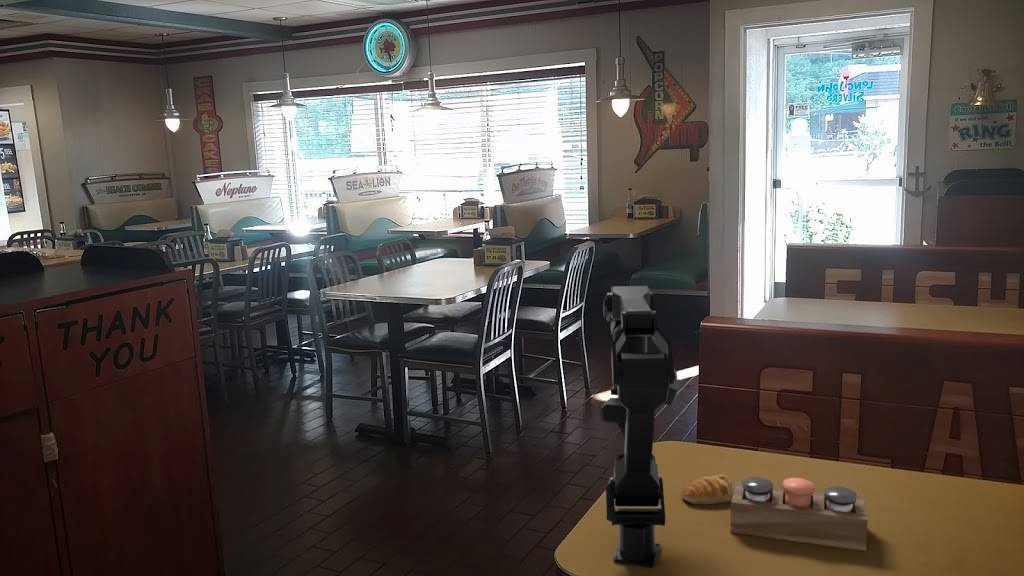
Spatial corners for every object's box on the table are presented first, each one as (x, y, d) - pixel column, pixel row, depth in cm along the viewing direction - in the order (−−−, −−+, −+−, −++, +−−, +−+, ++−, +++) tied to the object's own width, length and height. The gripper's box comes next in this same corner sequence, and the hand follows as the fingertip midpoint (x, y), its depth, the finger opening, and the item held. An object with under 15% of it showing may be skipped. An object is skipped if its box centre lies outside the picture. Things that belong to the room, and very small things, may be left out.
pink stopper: (813, 525, 131) (814, 492, 130) (781, 521, 133) (782, 489, 131) (813, 511, 135) (814, 479, 134) (782, 507, 137) (783, 476, 136)
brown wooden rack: (866, 550, 127) (867, 521, 126) (730, 531, 134) (730, 503, 133) (862, 524, 135) (864, 495, 134) (734, 507, 142) (735, 480, 141)
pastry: (694, 511, 142) (694, 491, 141) (674, 495, 148) (674, 476, 148) (738, 501, 145) (739, 481, 144) (717, 486, 151) (717, 467, 151)
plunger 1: (771, 523, 133) (772, 491, 132) (740, 519, 135) (741, 488, 134) (772, 510, 138) (773, 479, 137) (742, 506, 140) (743, 475, 138)
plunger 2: (855, 535, 129) (857, 502, 128) (822, 530, 130) (824, 497, 129) (854, 520, 133) (856, 488, 132) (822, 516, 135) (823, 484, 134)
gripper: (668, 377, 125) (667, 470, 128) (685, 346, 142) (684, 428, 145) (599, 372, 129) (600, 462, 132) (624, 342, 146) (624, 422, 149)
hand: (630, 443), depth 140 cm, fingers closed
